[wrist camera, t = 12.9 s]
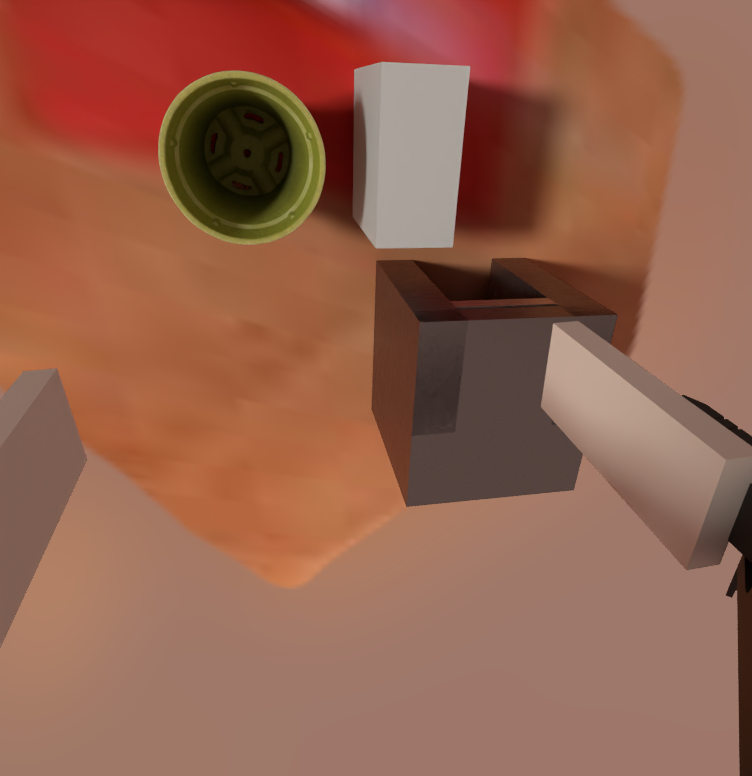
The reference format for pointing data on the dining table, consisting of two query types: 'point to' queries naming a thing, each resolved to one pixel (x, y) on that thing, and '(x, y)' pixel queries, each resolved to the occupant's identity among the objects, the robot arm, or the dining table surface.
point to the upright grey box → (408, 152)
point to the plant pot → (241, 157)
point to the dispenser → (473, 382)
